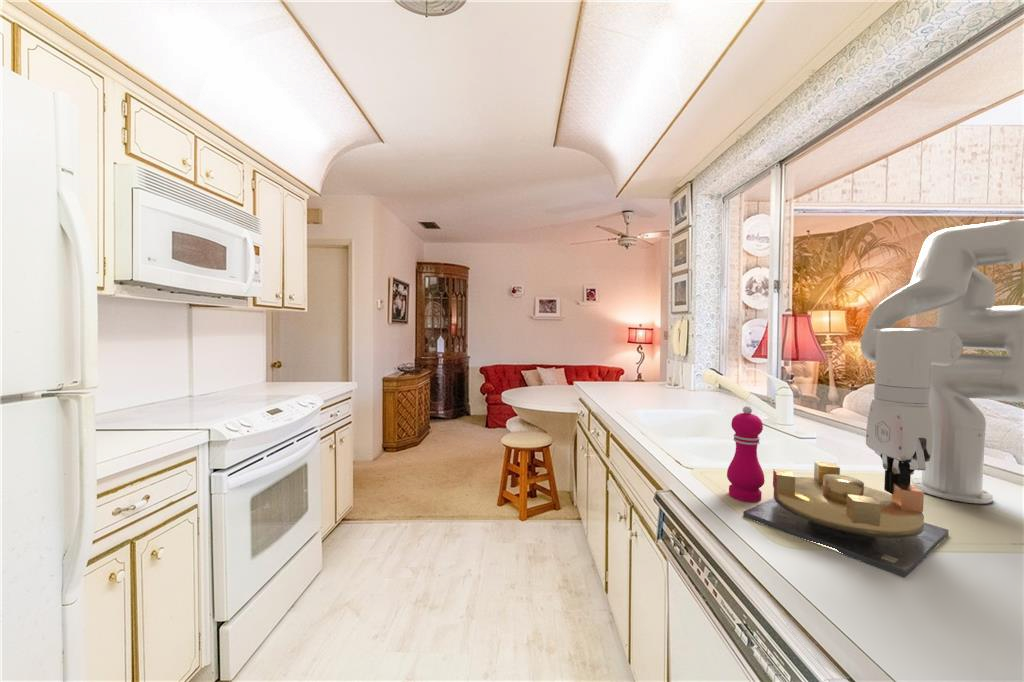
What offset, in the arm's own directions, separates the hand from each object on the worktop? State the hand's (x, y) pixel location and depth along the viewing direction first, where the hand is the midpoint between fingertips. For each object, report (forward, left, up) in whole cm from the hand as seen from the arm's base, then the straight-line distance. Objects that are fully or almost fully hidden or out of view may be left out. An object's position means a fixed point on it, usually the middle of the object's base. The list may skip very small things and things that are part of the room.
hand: (896, 492), depth 79 cm
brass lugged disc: (+8, -6, -3) cm, 10 cm away
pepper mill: (+10, -23, -7) cm, 26 cm away
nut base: (+8, -6, -7) cm, 12 cm away
